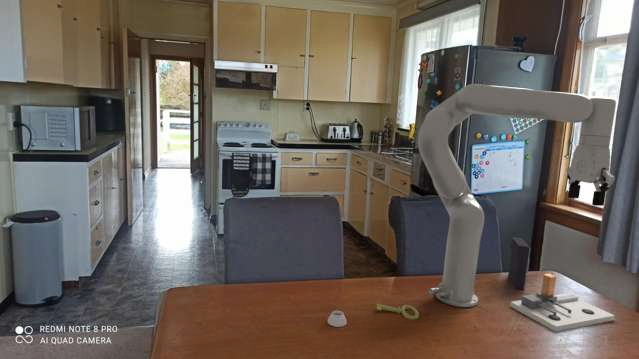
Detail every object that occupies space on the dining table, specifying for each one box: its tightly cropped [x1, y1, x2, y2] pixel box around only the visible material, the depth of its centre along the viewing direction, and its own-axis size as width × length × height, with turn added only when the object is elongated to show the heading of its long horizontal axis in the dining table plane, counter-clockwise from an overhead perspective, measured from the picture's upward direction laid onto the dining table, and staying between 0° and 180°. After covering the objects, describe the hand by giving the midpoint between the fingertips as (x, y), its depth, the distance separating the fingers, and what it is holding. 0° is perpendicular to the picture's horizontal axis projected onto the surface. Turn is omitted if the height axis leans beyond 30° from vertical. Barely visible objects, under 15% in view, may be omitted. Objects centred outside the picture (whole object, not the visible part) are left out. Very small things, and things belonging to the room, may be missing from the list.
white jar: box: [327, 310, 348, 328], centre depth 120 cm, size 5×3×5 cm
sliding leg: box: [535, 273, 571, 314], centre depth 134 cm, size 4×10×8 cm, turn 23°
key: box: [375, 303, 420, 320], centre depth 127 cm, size 7×12×2 cm, turn 103°
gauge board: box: [509, 293, 615, 332], centre depth 135 cm, size 24×16×4 cm, turn 113°
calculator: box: [507, 237, 531, 290], centre depth 156 cm, size 11×4×15 cm, turn 168°
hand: (585, 201), depth 129 cm, fingers open, 9 cm apart
